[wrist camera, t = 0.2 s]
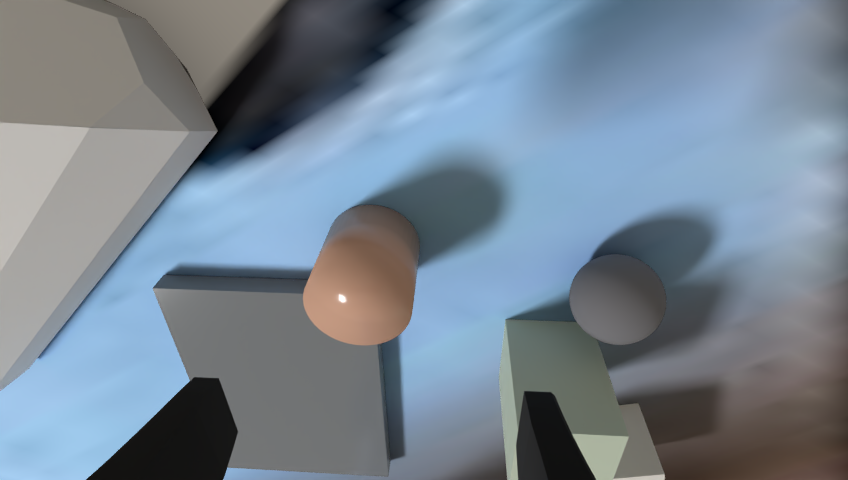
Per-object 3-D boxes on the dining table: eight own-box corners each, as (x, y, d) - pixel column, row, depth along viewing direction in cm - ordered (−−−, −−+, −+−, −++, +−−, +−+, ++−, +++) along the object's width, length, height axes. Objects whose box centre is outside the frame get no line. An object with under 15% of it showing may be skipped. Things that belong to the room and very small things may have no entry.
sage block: (577, 380, 25) (606, 496, 20) (498, 376, 25) (508, 490, 20) (591, 322, 23) (628, 436, 18) (505, 319, 23) (517, 431, 18)
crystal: (3, 454, 25) (263, 163, 15) (-218, 465, 20) (-51, 30, 10) (24, 328, 29) (240, 31, 19) (-154, 310, 24) (11, -113, 14)
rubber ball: (637, 305, 22) (666, 366, 19) (556, 302, 22) (571, 362, 19) (658, 238, 20) (694, 294, 17) (569, 235, 20) (588, 291, 17)
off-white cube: (640, 446, 28) (665, 518, 24) (568, 453, 28) (583, 524, 25) (637, 401, 25) (664, 474, 22) (560, 411, 26) (575, 482, 23)
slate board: (390, 461, 30) (388, 476, 29) (231, 452, 30) (225, 467, 29) (376, 282, 22) (373, 296, 21) (164, 274, 22) (152, 288, 22)
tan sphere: (420, 282, 22) (413, 347, 19) (333, 279, 22) (310, 343, 19) (419, 205, 20) (411, 263, 16) (322, 203, 20) (295, 259, 17)
